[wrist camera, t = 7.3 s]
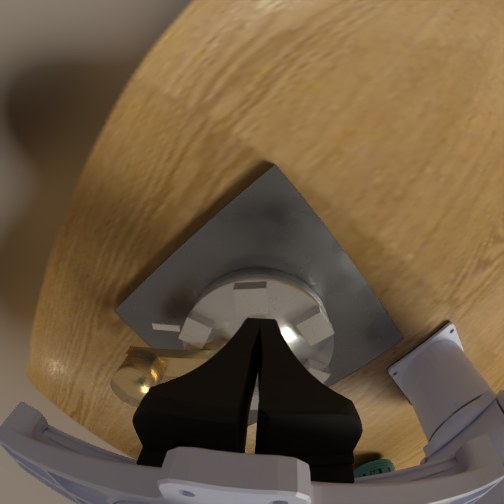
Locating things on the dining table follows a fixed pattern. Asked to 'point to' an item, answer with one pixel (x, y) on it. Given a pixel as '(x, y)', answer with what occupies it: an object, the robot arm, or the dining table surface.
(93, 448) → the robot arm
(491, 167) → the dining table surface
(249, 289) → the metal round piece
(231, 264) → the dark grey square plate
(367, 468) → the beverage bottle
